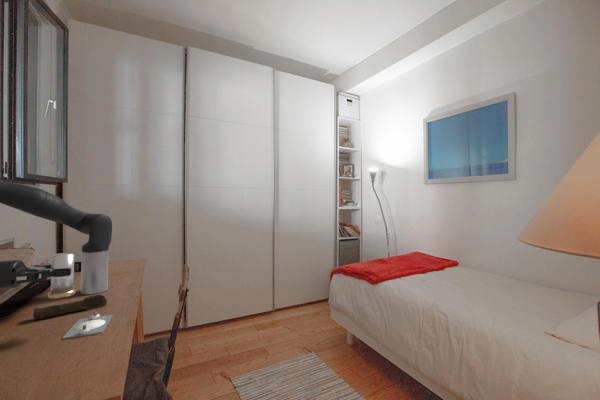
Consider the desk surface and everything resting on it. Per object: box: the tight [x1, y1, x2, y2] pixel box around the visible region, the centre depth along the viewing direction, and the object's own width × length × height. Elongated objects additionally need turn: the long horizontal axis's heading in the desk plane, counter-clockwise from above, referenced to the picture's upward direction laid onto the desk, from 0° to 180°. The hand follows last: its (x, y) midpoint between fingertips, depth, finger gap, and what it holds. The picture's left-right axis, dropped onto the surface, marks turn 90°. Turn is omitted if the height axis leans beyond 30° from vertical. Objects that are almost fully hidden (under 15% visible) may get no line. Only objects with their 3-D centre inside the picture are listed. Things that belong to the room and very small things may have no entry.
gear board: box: [62, 311, 114, 340], centre depth 80 cm, size 13×9×2 cm
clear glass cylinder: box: [47, 252, 77, 300], centre depth 78 cm, size 6×6×12 cm
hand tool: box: [32, 294, 107, 322], centre depth 91 cm, size 19×4×5 cm, turn 131°
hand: (74, 269), depth 79 cm, fingers closed on clear glass cylinder, 5 cm apart
